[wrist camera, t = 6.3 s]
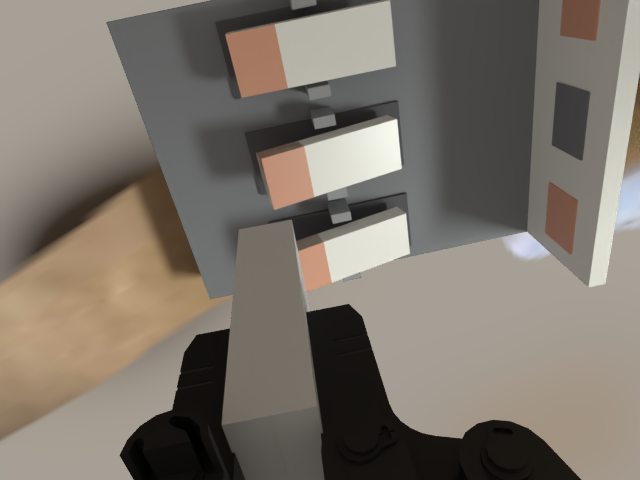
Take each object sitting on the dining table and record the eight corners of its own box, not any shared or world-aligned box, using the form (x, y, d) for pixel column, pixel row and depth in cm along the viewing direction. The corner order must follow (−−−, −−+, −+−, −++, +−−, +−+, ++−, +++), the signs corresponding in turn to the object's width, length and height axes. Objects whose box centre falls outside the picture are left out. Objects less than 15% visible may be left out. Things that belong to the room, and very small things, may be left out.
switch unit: (532, -67, 26) (666, -95, 17) (519, 210, 35) (605, 283, 26) (122, 19, 26) (51, 33, 17) (214, 276, 35) (198, 371, 26)
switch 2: (386, 115, 27) (397, 119, 25) (392, 163, 28) (401, 168, 27) (255, 152, 25) (261, 158, 24) (268, 202, 26) (274, 209, 25)
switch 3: (396, 206, 29) (406, 213, 28) (400, 245, 31) (410, 253, 30) (280, 246, 28) (286, 255, 27) (290, 286, 29) (296, 295, 28)
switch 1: (384, -1, 23) (390, 0, 22) (390, 62, 24) (396, 66, 23) (227, 32, 23) (225, 34, 22) (243, 92, 24) (241, 97, 23)
